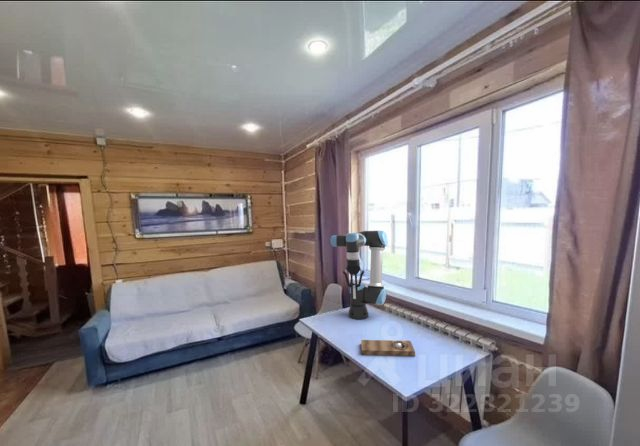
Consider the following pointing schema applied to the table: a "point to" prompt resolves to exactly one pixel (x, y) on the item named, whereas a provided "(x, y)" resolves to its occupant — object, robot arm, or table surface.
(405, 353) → the board
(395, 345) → the ball
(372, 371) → the table surface
